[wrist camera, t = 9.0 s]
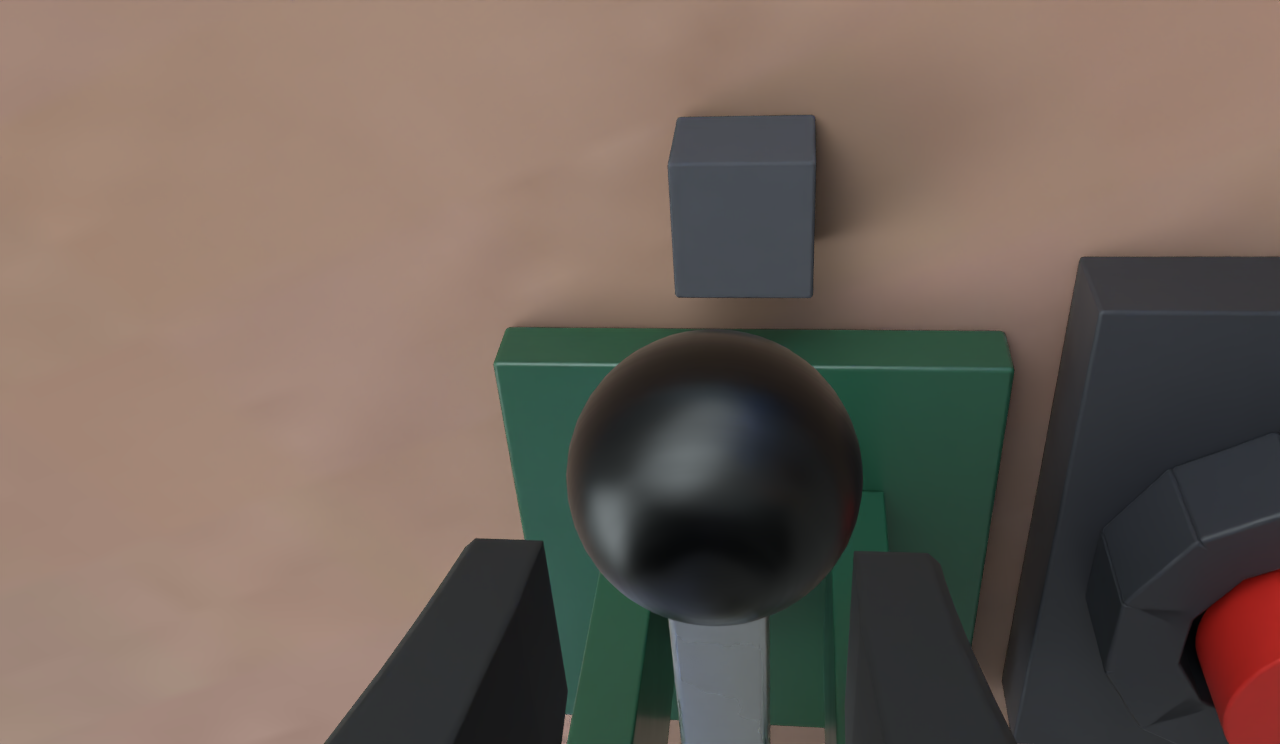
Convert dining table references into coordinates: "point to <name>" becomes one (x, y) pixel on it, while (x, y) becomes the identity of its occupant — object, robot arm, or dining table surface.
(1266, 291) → the button box
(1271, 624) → the button
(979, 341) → the rod bracket
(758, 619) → the rod
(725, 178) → the block
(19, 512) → the dining table surface
